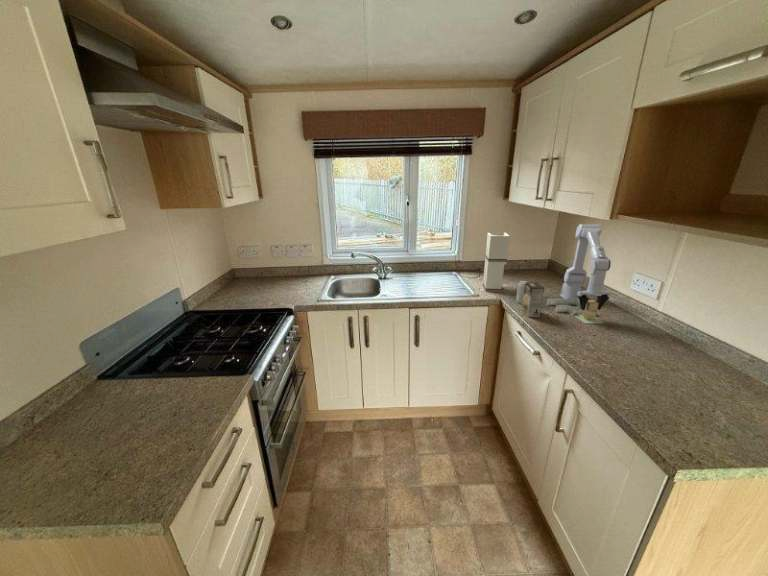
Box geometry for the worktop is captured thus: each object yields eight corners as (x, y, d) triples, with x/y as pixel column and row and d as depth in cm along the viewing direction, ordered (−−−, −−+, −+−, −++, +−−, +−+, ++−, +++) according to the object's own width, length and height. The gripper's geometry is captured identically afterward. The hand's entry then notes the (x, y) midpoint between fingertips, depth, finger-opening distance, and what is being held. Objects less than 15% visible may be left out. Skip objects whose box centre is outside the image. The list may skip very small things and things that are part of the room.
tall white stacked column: (503, 292, 188) (509, 235, 176) (485, 291, 190) (490, 235, 178) (499, 286, 199) (505, 232, 187) (482, 285, 200) (487, 232, 189)
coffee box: (520, 309, 163) (524, 281, 158) (533, 309, 163) (537, 281, 157) (527, 317, 154) (531, 287, 149) (540, 317, 154) (545, 287, 149)
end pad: (574, 315, 155) (574, 315, 154) (591, 315, 154) (592, 314, 154) (585, 323, 146) (585, 323, 146) (603, 323, 146) (604, 322, 146)
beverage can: (529, 304, 169) (532, 284, 165) (517, 304, 170) (519, 284, 166) (526, 300, 175) (529, 280, 171) (514, 299, 176) (517, 280, 172)
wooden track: (546, 304, 169) (547, 298, 168) (575, 303, 169) (576, 298, 168) (560, 315, 155) (562, 309, 154) (592, 315, 155) (594, 308, 154)
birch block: (581, 316, 153) (585, 300, 150) (589, 316, 152) (593, 300, 149) (586, 320, 149) (590, 303, 146) (594, 320, 149) (598, 303, 146)
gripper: (586, 286, 141) (580, 312, 145) (617, 285, 140) (610, 312, 145) (577, 281, 147) (571, 306, 152) (607, 280, 147) (600, 306, 152)
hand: (590, 309), depth 149 cm, fingers open, 7 cm apart
